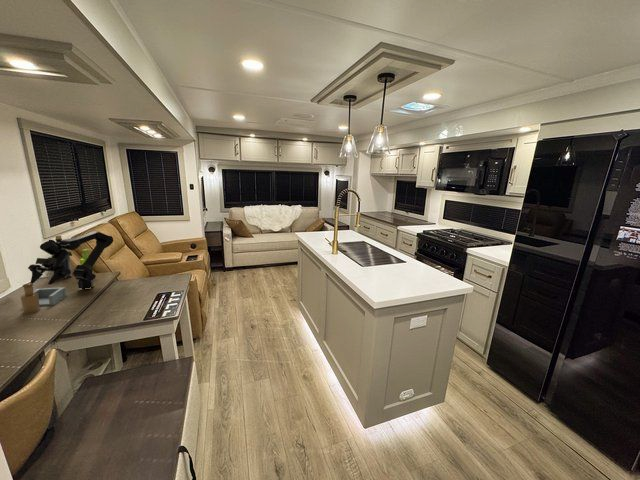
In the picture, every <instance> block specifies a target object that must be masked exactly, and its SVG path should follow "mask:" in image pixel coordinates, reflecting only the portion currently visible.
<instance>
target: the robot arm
mask: <svg viewBox="0 0 640 480" xmlns="http://www.w3.org/2000/svg"><path fill="white" fill-rule="evenodd" d="M93 240H96V241H95V247H94V248H93V250H92V251H91V252H90V254H89V256H88V258H87V259H86V261H85V262H84V263H83V264H82V265H81V264H76V267H75V268H74V269H73V272H72V269H71V270H70V269H68V268H66V267H62V266H61V265H62V264H63V265H64V264H65V263H64V260H65V259H66V257H67V256H70V257H72V256H73V253H72V251H74V250H76V249H78V248H80V247H81V245H83V244H85V243H88V242H90V241H93ZM113 243H114V238H113V236H112V235H108V234H106V233H102V232H101V231H95V230H92V231H90V232H88V233H85V234H83V235H80V236H77V237H74V238H67V239H62V241H60V242H59V243H56V240H55V239H49V240H47V241H44V242H43V243H41V244H40V245H39V249H40V250H42V251H44V252H45V253H47V254H49V255H51V257H50V256H49V257H48V258H44V257H42V258H40V257H37V258H36V261H35V264H30V265H29V266H28V267H27V269H28V270H29V271H31V279H30V283H33V284H35V282H37V281H38V280H39V278H41V277H42V276H43V275H44V273H45V272H53V275H52V276H51V278H50V280H49V281H48V283H47V284H48V285H49V286H51V285H53V284H54V283H56V282H58V281H59V280H62V279H61V278H63V277H65V276H67V275H70V273H72V276H73V278H75V280H78V282H77V285H78V287H77V288H78V289H79V288H82V289H85V288H90V287H92V286H93V285H94V280H95V279H96V277H97V276H96V274H95V273H92V272H94V270H93V267H94V265H95V264H96V262H97V261H98V259H99V258H100V257H101V255H102V253H104V251H105V249H107V248H108V247H110V246H111V245H112V244H113ZM65 249H66V250H65ZM52 255H53V256H52Z"/></svg>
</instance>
